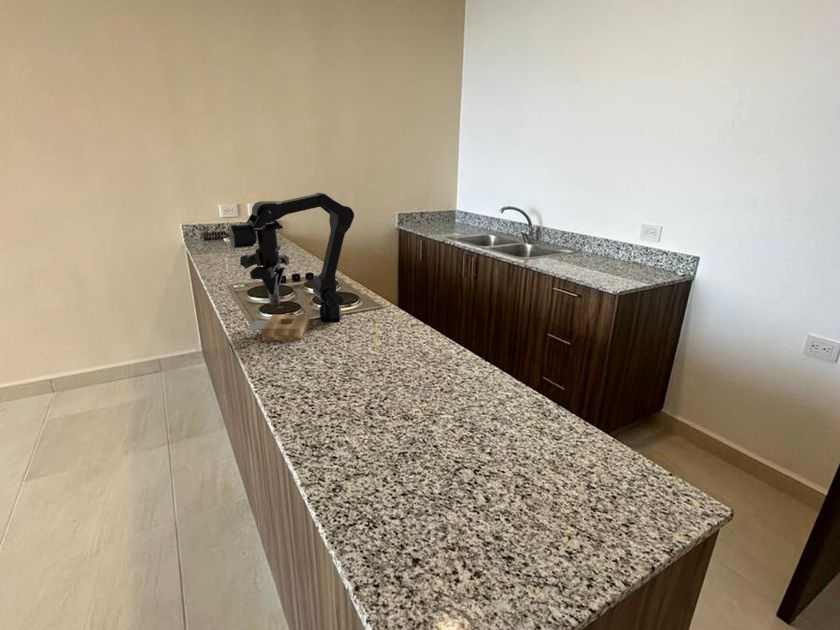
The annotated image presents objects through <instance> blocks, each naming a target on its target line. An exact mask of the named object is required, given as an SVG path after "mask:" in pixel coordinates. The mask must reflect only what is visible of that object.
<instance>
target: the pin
mask: <svg viewBox="0 0 840 630" xmlns="http://www.w3.org/2000/svg"><path fill="white" fill-rule="evenodd" d="M275 274H276V272H275ZM267 291H268V290H267ZM279 293H280V292H279V288H278V284H277V283H276V288H275V292H274V295H270V293H269V291H268V299H269V305H271V306H276V305H280V304H281V301H280V295H279Z"/></svg>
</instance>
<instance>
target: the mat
mask: <svg viewBox="0 0 840 630" xmlns="http://www.w3.org/2000/svg"><path fill="white" fill-rule="evenodd" d="M267 321H268V320H263V319H262V320H257V319H255V320H254V321H253V323H251V325H250V326H249V327H248V328H247V330H254V331H255V330H256V331H257V330H258V331H259V330H260V331H261V328H262V327H263V326H264V324H265V323H266V322H267Z"/></svg>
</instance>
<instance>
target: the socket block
mask: <svg viewBox="0 0 840 630" xmlns="http://www.w3.org/2000/svg"><path fill="white" fill-rule="evenodd" d="M266 321H267V322H266V323H265V324H264V326H263V327H262V328H261V330H260V332H261V338H262V339H261V340H265V341H267V340H268V341H270V340H271V341H278V340H280V341H302V339H303V338H304V337H305V334H306V333H307V331H308V329H309V328H310V326H311V322H310V321H311V320H310V315H309V314H272V315H271V317H269V318H268V320H266Z"/></svg>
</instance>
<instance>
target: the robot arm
mask: <svg viewBox="0 0 840 630" xmlns="http://www.w3.org/2000/svg"><path fill="white" fill-rule="evenodd" d="M316 208H321V209H322V210H324V211H325V212H326V213H327V214H329V220H328V221H329V227H330V233H329V238H328V241H327V246H326V251H325V255H324V259H323V262H322V263H323V264H322V269H321V272H320V273H319V275H318V276H317V275H314V276H313V281H312V282H313V283H312V284H311V286H310V287H311V288H312V292H313V294H314V296H316V297H317V298H318V299H319V301H320V306H319V319H320V322H324V323H340V321H341V320H342V318H343V314H342V307H341V306H342V305H343V302H344V298H343V297H341V295H340V294H338V293H337V288H338V287H337V279H336V274H337V270H338V265H339V261H340V256H341V252H342V247H343V243H344V239H345V236H346V233H347V232H348V231H349V229H350V228H351V226H352V224H353V222H354V219H355V212H354V210H353V209H352V208H351V207H349V206H346V205H343V204H340V202H338V201H336V200H335V199H333V198H331V197H330V196H329V195H328V194H327V193H323V192H316V193H314V194H309V195H304V196H300V197H297V198H295V197H294V198H290V199H286V200H281V201H277V200H275V201H274V200H269V201H268V200H267V201H266V200H265V201H263V200H262V201H261V200H260V201H257V202H255V203H254V204H253V206H252V208H251V214H250V215H249V217H248V219H247V221H246V223H245V224H244V223H241V224H230V225H229V228H230V229H229V237H228V238H229V241H230V245H231V247H232V248H233V249H234V250H235V249H241V248H250V247H254V245H256V244H257V245H258V248H255V252H253V253H251V254H249V255H248V254H244V255H241V256H240V259H239V265H240V266H242V267H243V268H244V269H245V270H246V269H249V268H251V267H252V266H255V267H254V268H252V269H251V270H250V272H249V276H250V279H251V280H262V282H264V284H265V286H266V289H267V291H269V292H268V294H269V293H270V295H274V292H275V288H276V283H277V284H278V289H279V288H280V285H281V281H282V278H283V275H284V272H285V271H286V267H283V266H282V264H283V265H285V266H288V265H290V258H289V256H287V255H286V254H279V251H280V250H281V246H280V245H279V244H278V236H277V230H280V229H281V230H282V229H283V226H282V224H280V223H279V221H278V220H280V219H282V218H283V217H285V216H287V215H290V214H293V213H299V212H303V211H307V210H312V209H316ZM280 264H281V265H280ZM281 266H282V267H281ZM275 272H276V274H275Z"/></svg>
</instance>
